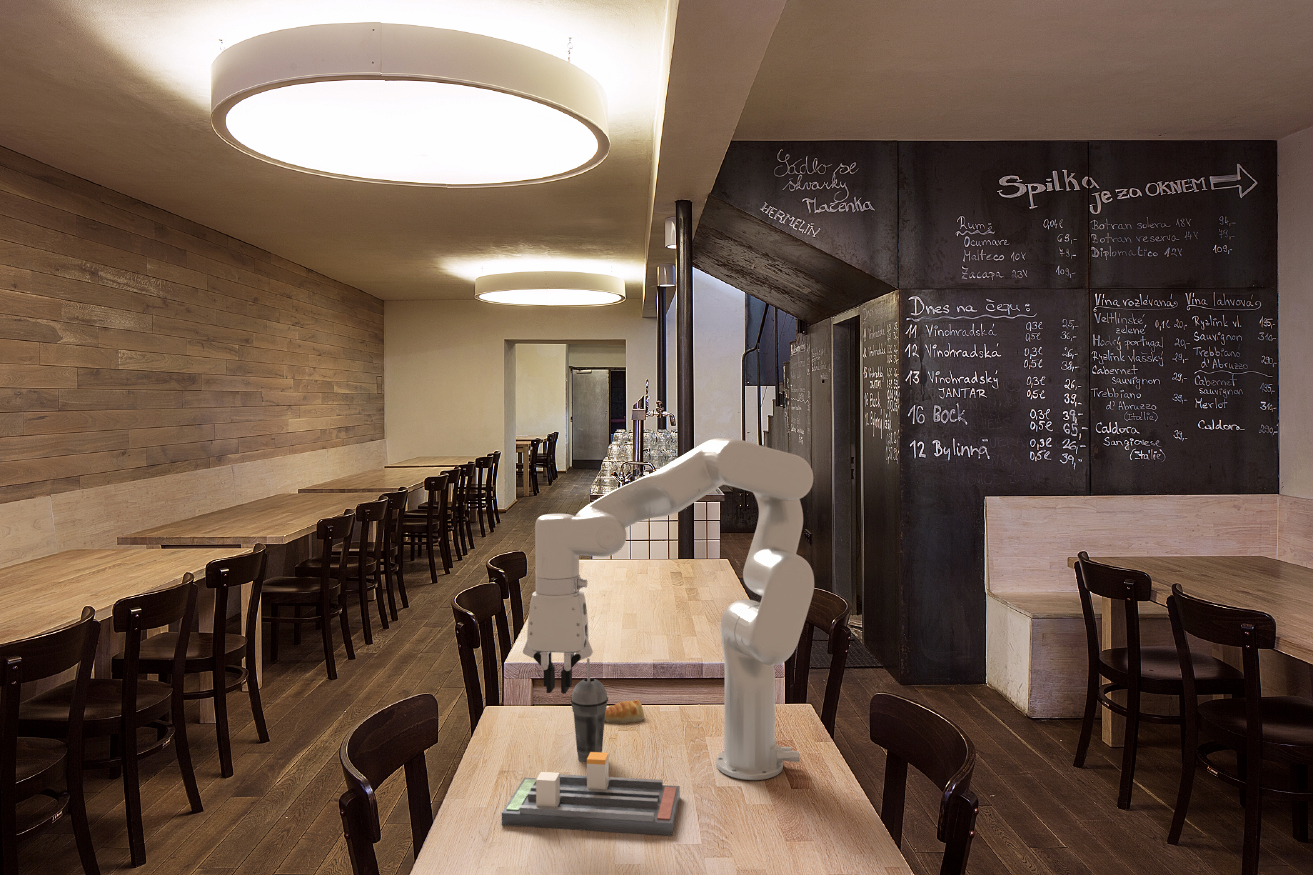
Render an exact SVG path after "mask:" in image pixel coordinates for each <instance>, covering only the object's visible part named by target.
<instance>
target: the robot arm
mask: <svg viewBox="0 0 1313 875" xmlns="http://www.w3.org/2000/svg"><path fill="white" fill-rule="evenodd" d="M813 483H814V473H813V469H812V468H811V465H810V464H809V462H808V461H807V460H806V459H805V458H803V457H801V456H799V455H797V454H793V453H790V452H786V451H782V450H778V449H774V448H771V447H768V446H763V445H760V444H756V443H753V442H749V441H746V440H742V439H737V438H725V437H724V438H722V437H716V438H712V439H709V440H706V441H704V442H703V443H701V444H699V445H698V446H696V447H694V448H692V449H691V450H689V451H688V452H686V453H684V454H683V455H681V456H679V457H677V458H676V459H674V460H672V461H670V462H669V463H667V464H666V465H664V466H661V468H658V469H657V470H655V471H654V472H652V473H649V474H647V475H644V476H642V477H640V478H638V479H637V480H634V481H632V482H630V483H628V484H627V483H626V484H625V485H622V486H620V487H618V488H616V489H614V490H612V491H610V492H609V493H607V494H605V495H603V496H601V497H600V498H598V499H596V500H595V501H593V502H591V503H589V504H587V505H586V506H585V507H583V508H582V509H580V510H579V511H578V512H577V513H576V514H575V515H573V514H568V513H548V514H541V516H539V517H538V518H537V519H536V521H535V528H534V530H535V532H534V533H535V534H534V535H535V539H534V540H535V548H534V549H535V550H534V551H535V557H534V558H535V591H534V592H532V594H531V598H530V603H529V611H528V618H527V619H528V620H527V633H526V634H527V635H526V642H525V644H524V647H523V649H522V653H523V655H525V656H527V657H530V658H533V659H534V660H535V662H537V664H538V665H539V666H540V668H541V670H543V687H546V689H545V690H546V694H551V693H552V692H553V691H554V689H555V687H556V669H555V668H556V666H555V664H553V660H552V658H553V656H552V655H553V653H557V654H558V653H559V654H561V653H563V666H562V670H561V672H560V693H561V694H564V695H565V694H567V692H568V691H569V689H570V688H572V686H573V668H574V667H575V665H577V664H578V662H579V661H582V660H585V659H587V658H590V657H591V656H592V655H593V653H594V651H593V649H592V645H591V643H590V642H589V637H590V635H589V620H588V618H589V617H588V609H587V603H586V596H585V592H584V591H580V590H581V589H583V588H587V587H588V580H587V579H584V578H582V577H581V574H580V556H586V557H587V556H589V557H601V558H602V557H603V558H604V557H611V556H613V555H615V554H617V553H619V552H620V551H621V550H622V548H624V546H625V544H626V540H627V528H628V527H630V526H633V525H635V524H637V523H638V522H639V523H640V522H641V521H645V520H649V519H653V518H661V517H667V516H670V515H673V514H677V513H679V512H681V511H683V510H684V509H686V508H687V507H689V506H691V505H692V504H693V503H696V502H697V501H699V500H701V499H702V498H704V497H705V496H706V495H709V494H710V493H711V492H713V491H715V490H716V489H718V488H719V487H722V486H723V485H724V486H728V487H729V486H730V487H732V488H737V489H740V490H741V489H742V490H744V491H748V492H751V493H753V495H754V497H755V500H756V503H757V506H758V518H757V525H756V529H755V532H754V535H753V539H752V540H751V544H750V548H749V551H748V555H747V557H746V561H745V564H744V566H743V571H742V578H743V582H744V584H745V585H746V587H747V588H748V589H749V590H750V591H751V592H753V593H755V594H757V595H758V596H760V597H761V600H760V601H756V600H753V599H747V598H745V599H738V600H736V601H733V602H732V603H730V604H729V605H728V606H727V607H726V608H725V610H724V612H723V614H722V616H721V619H720V639H721V645H722V651H723V653H722V654H723V662H724V664H723V665H724V666H723V668H724V722H723V723H724V724H723V725H724V726H723V727H724V743H723V744H724V749H723V750H724V751H722V752H720V753H719V754H718V755H717V757H716V760H715V761H716V764H715V765H716V767H717V768H716V769H718V770H719V771H720V772H721V773H722V774H725V775H726V776H729V777H731V778H734V779H738V780H745V781H746V780H747V781H762V780H767V779H771V778H774V777H776V776H777V775H779V774H780V773H781V772H782V771H783V768H784V762H790V763H791V762H792V763H799V762H800V751H799V750H798V751H797V750H793V747H792V746H781V745H779V744H777V738H776V734H775V733H776V732H775V731H776V729H775V728H776V724H775V722H776V720H775V719H776V716H775V715H776V714H775V713H776V712H775V711H776V709H775V708H776V707H775V706H776V705H775V704H776V698H775V697H776V694H775V693H776V688H775V687H776V674H775V666H778V665H781V664H783V663H784V662H786V661H788V659H789V658H790V657H792V655H793V654H794V652H795V650H796V648H797V646H798V644H799V641H800V637H801V634H802V632H803V629H804V625H805V622H806V620H807V619H806V618H807V616H808V612H809V609H810V606H811V602H812V598H813V595H814V590H815V576H814V570H813V569H812V567H811V565H810V564H809V562H808V560H806V559H805V558H803V556H800V555H798V554H797V553H798V552H797V551H798V548H799V543H800V539H801V535H802V531H803V525H804V513H803V507H802V504H801V499H803V498H804V497H805V496H807V495H808V493H809V492H810V490H811V489H812V487H813Z"/></svg>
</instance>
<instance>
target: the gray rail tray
mask: <svg viewBox="0 0 1313 875" xmlns="http://www.w3.org/2000/svg"><path fill="white" fill-rule="evenodd" d="M608 777H609V786H608V788H607V790H606V789H588V788H587V775H582V774H581V775H579V774H562V773H561V774H560V803H559V805H558V807H550V806H536V779H537V778H538V777H524V778H523V779H522V781H521V782H520V783H519V786H518V787H517V789H516V790H515V792H514V793H513V795H512V796H511V798H510V799H509V801H508V802H507V803H506V806H505V807H504V809H503V810H502V812H501V826H511V827H530V828H542V829H543V828H544V829H547V828H548V829H561V830H572V831H573V830H576V831H588V832H589V831H590V832H604V833H605V832H606V833H608V832H609V833H623V834H638V835H639V834H640V835H641V834H642V835H651V836H652V835H653V836H654V835H656V836H673V834H674V828H675V822H676V818H677V813H678V809H679V804H680V797H681V787H680V785H666V784H663V783H664V780H663V779H653V778H637V777H636V778H634V777H620V776H619V777H618V776H617V777H616V776H608Z"/></svg>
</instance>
